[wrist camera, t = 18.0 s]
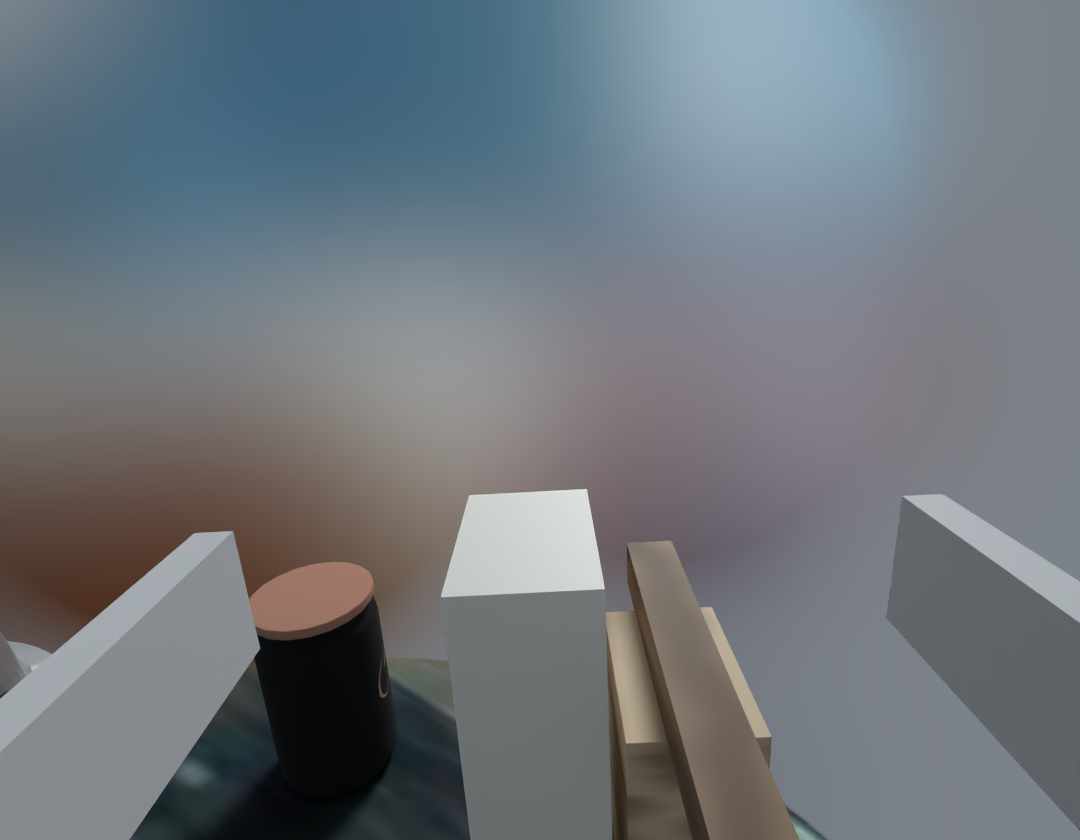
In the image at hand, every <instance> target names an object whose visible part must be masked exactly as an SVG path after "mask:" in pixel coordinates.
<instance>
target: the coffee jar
mask: <svg viewBox="0 0 1080 840" xmlns="http://www.w3.org/2000/svg"><path fill="white" fill-rule="evenodd" d="M373 590H374V583H373V579H372V577H371V574H370V572H368V571H367V570H365V569H364V568H363V567H361V566H358V565H355V564H351V563H345V562H328V563H319V564H313V565H309V566H305V567H301V568H297V569H294V570H292V571H290V572H287V573H285V574H282V575H280V576H278V577H276V578H274V579H273V580H271V581H270V582H268V583H266V584H264V585H263V586H262V587H261V588H260V589H259V590H257V591H256V593H254V594H253V595H252V596H251V598H250V600H249V603H250V607H251V611H252V615H253V620H254V624H255V628H256V633H257V637H258V641H259V645H260V649H259V651H258V652H257V654H256V655H255V657H254V659H255V663H256V667H257V671H258V676H259V680H260V684H261V688H262V692H263V697H264V701H265V705H266V709H267V713H268V718H269V722H270V726H271V730H272V735H273V739H274V743H275V747H276V751H277V756H278V760H279V764H280V768H281V772H282V775H283V777H284V778H285V780H286V781H287V783H288V784H289V786H290V787H291V788H293V789H295V790H297V791H298V792H300V793H302V794H304V795H307V796H309V797H314V798H321V799H327V798H333V797H340V796H343V795H346V794H348V793H350V792H353V791H355V790H358V789H359V788H361V787H362V786H364V785H365V784H366V783H368V782H369V781H371V780H372V779H373V778H374V777H375V776H376V775H377V774H378V773H379V772H380V771H381V769H382V768H383V767H384V766H385V764H386V762H387V761H388V759H389V757H390V755H391V753H392V751H393V749H394V747H395V744H396V736H397V725H396V718H395V712H394V706H393V700H392V693H391V687H390V681H389V675H388V668H387V662H386V656H385V650H384V644H383V637H382V631H381V625H380V619H379V612H378V607H377V604H376V601H375V599H374V596H373V595H372V594H373Z"/></svg>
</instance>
